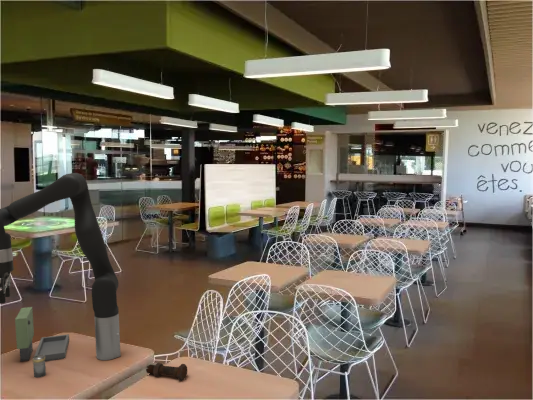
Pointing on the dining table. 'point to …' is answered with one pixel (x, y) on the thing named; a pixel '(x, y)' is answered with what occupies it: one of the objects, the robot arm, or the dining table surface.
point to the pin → (39, 366)
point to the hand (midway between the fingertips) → (4, 299)
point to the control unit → (24, 333)
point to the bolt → (168, 370)
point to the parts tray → (53, 347)
